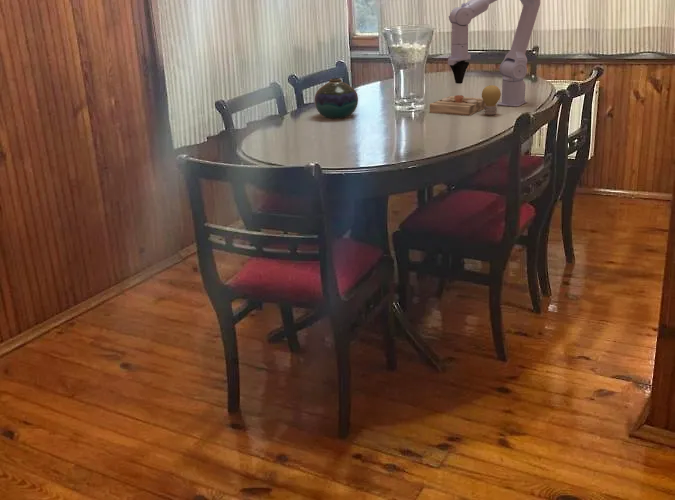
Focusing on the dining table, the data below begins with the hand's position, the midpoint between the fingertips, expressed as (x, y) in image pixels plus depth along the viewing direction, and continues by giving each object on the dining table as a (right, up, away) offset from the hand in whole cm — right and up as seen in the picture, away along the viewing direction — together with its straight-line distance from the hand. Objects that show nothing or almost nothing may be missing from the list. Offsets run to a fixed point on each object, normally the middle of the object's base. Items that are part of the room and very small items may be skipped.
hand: (459, 83), depth 261 cm
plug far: (-4, -7, +6) cm, 10 cm away
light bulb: (+10, -12, -6) cm, 17 cm away
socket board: (0, -9, +3) cm, 9 cm away
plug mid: (0, -7, +3) cm, 7 cm away
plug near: (+5, -9, 0) cm, 10 cm away
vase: (-43, -12, +1) cm, 45 cm away
